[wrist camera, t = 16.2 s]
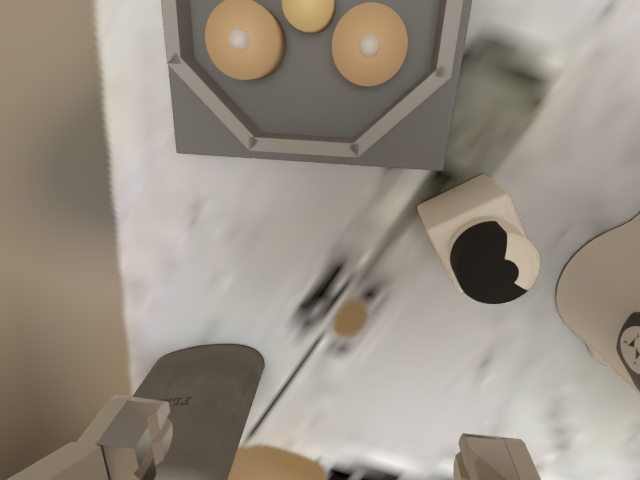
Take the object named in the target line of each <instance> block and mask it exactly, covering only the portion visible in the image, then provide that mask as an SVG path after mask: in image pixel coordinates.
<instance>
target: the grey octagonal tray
mask: <svg viewBox="0 0 640 480" xmlns="http://www.w3.org/2000/svg"><path fill="white" fill-rule="evenodd" d="M471 4H472V0H161V5H162V16H163V26H164V36H165V46H166V57H167V64H168V68H169V78H170V88H171V99H172V109H173V119H174V130H175V140H176V151H177V153H183V154H198V155H213V156H229V157H244V158H259V159H274V160H289V161H304V162H319V163H334V164H350V165H365V166H380V167H395V168H410V169H425V170H440V171H443V169H444V163H445V157H446V151H447V145H448V139H449V133H450V127H451V122H452V116H453V110H454V104H455V98H456V92H457V86H458V80H459V74H460V69H461V63H462V57H463V51H464V45H465V39H466V33H467V27H468V21H469V16H470V10H471Z"/></svg>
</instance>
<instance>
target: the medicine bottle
mask: <svg viewBox="0 0 640 480" xmlns="http://www.w3.org/2000/svg"><path fill="white" fill-rule="evenodd" d="M417 210H418V212H419V214H420V217H421V219H422V222H423V224H424V227H425V229H426V232H427V234H428V236H429V238H430V240H431V242H432V244H433V246H434V248H435V250H436V252H437V254H438V256H439V258H440V260H441V262H442V264H443V266H444V268H445V270H446V272H447V274H448V276H449V278H450V279H451V281H452V283H453V285H454V287H455V289H456V291H457V292H458V293H460V294H461V293H466V294H467V295H468V296H469V297H471V298H472V299H474V300H476V301H479V302H482V303H487V304H500V303H506V302H509V301H512V300H514V299H516V298H518V297H520V296H522V295H523V294H525V293H526V292H527V291H528V290H529V289H530V288H531V287H532V286H533V284H534V283H535V281H536V279H537V277H538V275H539V271H540V257H539V254H538V252H537V250H536V248H535V247H534V246H533V244H532V243H531V242H530V241H529V240H528V238H527V236H526V234H525V231H524V229H523V226H522V224H521V222H520V219H519V217H518V214H517V212H516V210H515V207H514V205H513V202H512V200H511V198H510V195H509V194H508V193H507V192H506V191H504V190H503V189H502V188H501V187H500V186H498V185H497V184H496V183H495V182H494V181H492V180H491V179H490V178H489V177H488V176H487V175H485V174H481V175H479V176H477V177H475V178H473V179H471V180H469V181H467V182H465V183H463V184H461V185H458V186H456V187H454V188H452V189H450V190H448V191H446V192H444V193H442V194H440V195H438V196H436V197H434V198H432V199H430V200H427V201H425V202H423V203H421V204H419V205H418V207H417Z"/></svg>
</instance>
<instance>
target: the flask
mask: <svg viewBox="0 0 640 480" xmlns="http://www.w3.org/2000/svg"><path fill="white" fill-rule="evenodd" d="M263 369H264V360H263V358H262V357H261V355H260V354H259V353H258V352H257V351H255V350H254V349H251V348H249V347H245V346H240V345H208V346H200V347H194V348H189V349H184V350H180V351H177V352H173V353H171V354H168V355H165V356H164V357H162V358H160V359H159V360H158V361H157V363H156V364H155V365H154V367H153V368H152V369H151V371H150V372H149V374H148V375H147V377H146V378H145V379H144V381H143V382H142V384H141V385H140V386H139V388H138V389H137V391H136V392H135V394H134V395H133V396H132V397H138V398H145V399H153V400H160V401H166V402H169V407H170V413H169V414H168V416H167V418H168V419H169V420H170V421H171V423H172V427H173V433H172V440H171V444H170V447H169V450H168V452H167V454H166V456H165V458H164V460H162V461H161V462H159V463H158V464H157V465H155V468H156V476H155V478H154V480H227V479H228V476H229V473H230V469H231V467H232V464H233V460H234V458H235V454H236V451H237V448H238V445H239V442H240V439H241V436H242V433H243V430H244V427H245V424H246V421H247V418H248V415H249V412H250V409H251V406H252V403H253V400H254V397H255V394H256V391H257V388H258V385H259V381H260V378H261V375H262V372H263Z"/></svg>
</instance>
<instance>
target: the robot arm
mask: <svg viewBox="0 0 640 480" xmlns="http://www.w3.org/2000/svg"><path fill="white" fill-rule="evenodd" d="M556 302H557V308H558V311H559V314H560V316H561V318H562V320H563V321H564V323H565V324H566V325H567V326H568V327H569V329H571V330H572V331H573V332H574V333H576V334H577V335H578V336H579V337H581V338H582V339H583V340H584V341H585V342H586V345H587V347H588V350H589V352H590V354H591V355H592V356H593V357H594V358H595V359H596V360H597V361H598V362H599V363H601V364H604V365H609V366H610V367H611V368H613V369H614V370H615V371H616V372H617V373H618V374H619V375H620V376H621V377H622V378H623V379H624V380H625V381H626V382H627V383H628V384H629V385H630V386H631V387H633V388H634V389H635V390H636V391H637V392H638V393H639V394H640V213H639V214H638V215H637V216H636V217H635V218H634V219H632V220H631V221H630V222H628V223H626V224H624V225H622V226H620V227H617V228H615V229H613V230H610V231H608V232H606V233H604V234H602V235H600V236H599V237H597V238H595V239H594V240H592V241H591V242H589V243H588V244H587V245H585V246H584V247H583V248H582V249H581V250H580V251H579V252H577V254H576V255H575V256H574V257H573V258H572V259H571V260H570V262H569V263H568V264H567V266H566V268H565V269H564V271H563V273H562V275H561V277H560V280H559V283H558V287H557V293H556ZM169 413H170V407H169V402H166V401H160V400H153V399H145V398H138V397H129V396H121V395H115V396H113V397H112V398H110V399H109V400H108V402H107V403H106V404H105V406H104V407H103V408H102V409H101V411H100V412H99V413H98V415H97V416H96V417H95V419H94V420H93V421H92V422H91V424H90V425H89V426H88V428H87V429H86V430H85V432H84V433H83V434H82V435H81V437H80V438H79V439H78V441H77V442H76V443H72V442H71V443H69V444H67V445H65V446H64V447H62V448H60V449H58V450H57V451H55V452H53V453H52V454H50V455H48V456H47V457H45V458H43V459H42V460H40V461H38V462H36V463H35V464H33V465H31V466H29V467H28V468H26V469H24V470H23V471H21V472H19V473H18V474H16V475H14V476H12V477H11V478H9V479H7V480H154V478H155V476H156V468H155V465H157V464H158V463H159V462H161V461H162V460H164V458H165V456H166V454H167V452H168V450H169V447H170V444H171V440H172V433H173V427H172V423H171V421H170V420H169V419H168V418H167V416H168V414H169ZM459 446H460V450H461V452H459V453H458V454H457V455H456V456H455V461H454V480H541V479H540V476H539V474H538V472H537V470H536V468H535V465H534V463H533V461H532V459H531V456H530V454H529V452H528V450H527V447H526V445H525V443H524V442H523V441H522V440H521V439H513V438H504V437H501V438H500V437H496V436H485V435H475V434H465V433H463V434H462V435H461V437H460V440H459Z"/></svg>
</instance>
